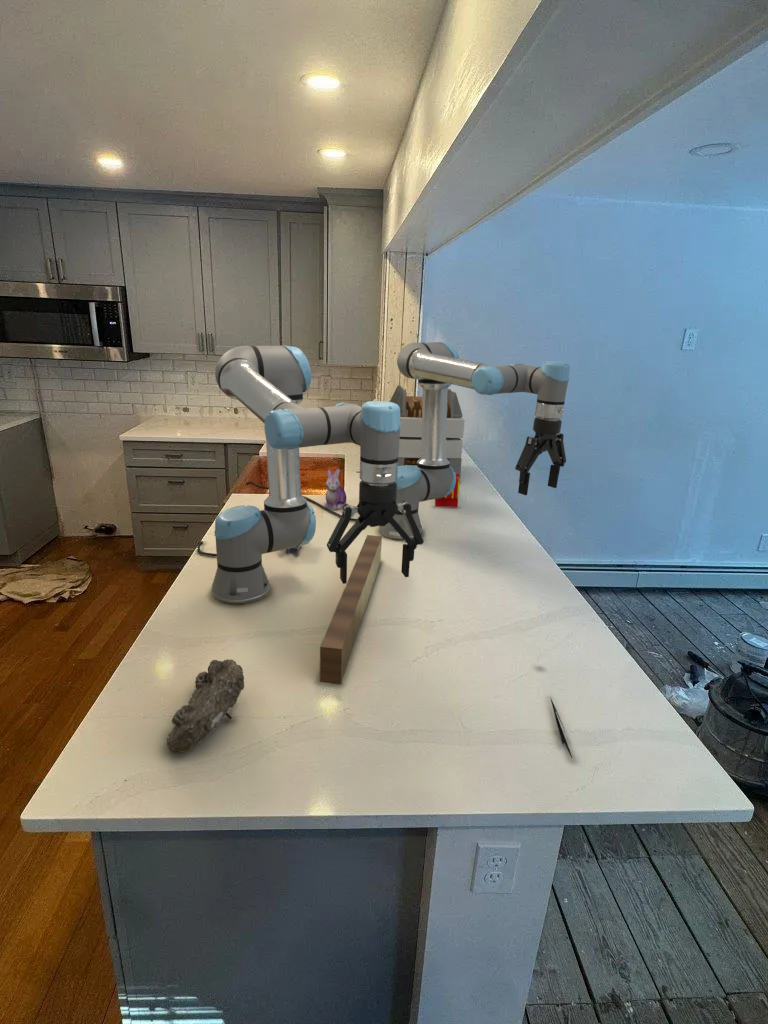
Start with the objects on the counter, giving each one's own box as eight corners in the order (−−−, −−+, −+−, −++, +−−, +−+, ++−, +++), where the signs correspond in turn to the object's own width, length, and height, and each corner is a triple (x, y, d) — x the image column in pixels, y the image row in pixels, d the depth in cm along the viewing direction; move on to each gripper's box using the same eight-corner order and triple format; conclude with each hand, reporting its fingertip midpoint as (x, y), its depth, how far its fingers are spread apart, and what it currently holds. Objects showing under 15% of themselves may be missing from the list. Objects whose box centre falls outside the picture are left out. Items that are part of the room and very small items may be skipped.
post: (366, 560, 178) (367, 534, 175) (380, 561, 177) (381, 536, 174) (319, 682, 120) (320, 646, 117) (341, 684, 119) (341, 649, 116)
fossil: (192, 660, 117) (244, 628, 112) (224, 691, 120) (276, 661, 115) (142, 746, 98) (202, 712, 93) (182, 779, 101) (242, 748, 96)
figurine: (329, 511, 218) (329, 474, 213) (319, 503, 226) (319, 467, 221) (351, 508, 222) (352, 471, 217) (341, 500, 230) (342, 465, 225)
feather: (540, 672, 128) (545, 666, 127) (572, 762, 101) (579, 755, 101) (533, 668, 128) (539, 662, 127) (564, 758, 101) (571, 750, 100)
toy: (452, 465, 253) (463, 475, 224) (451, 495, 256) (461, 508, 227) (425, 464, 253) (433, 474, 224) (424, 494, 256) (431, 507, 226)
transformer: (382, 463, 289) (386, 382, 275) (445, 464, 293) (451, 384, 279) (390, 482, 257) (394, 392, 243) (460, 483, 261) (468, 394, 247)
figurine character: (301, 560, 179) (306, 537, 192) (301, 539, 175) (306, 517, 189) (280, 559, 178) (286, 536, 192) (279, 538, 175) (286, 516, 188)
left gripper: (320, 490, 106) (319, 591, 113) (443, 483, 113) (436, 579, 120) (312, 478, 112) (312, 575, 119) (429, 473, 120) (423, 564, 127)
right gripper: (530, 424, 149) (519, 500, 156) (585, 417, 163) (573, 487, 171) (508, 419, 154) (499, 493, 162) (564, 412, 169) (553, 480, 176)
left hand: (374, 577), depth 120 cm, fingers open, 13 cm apart
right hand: (537, 490), depth 166 cm, fingers open, 13 cm apart
